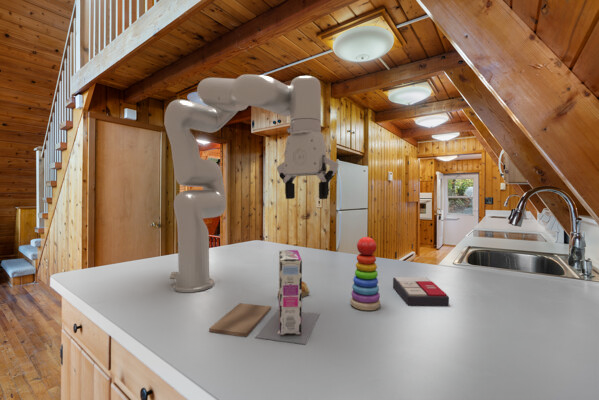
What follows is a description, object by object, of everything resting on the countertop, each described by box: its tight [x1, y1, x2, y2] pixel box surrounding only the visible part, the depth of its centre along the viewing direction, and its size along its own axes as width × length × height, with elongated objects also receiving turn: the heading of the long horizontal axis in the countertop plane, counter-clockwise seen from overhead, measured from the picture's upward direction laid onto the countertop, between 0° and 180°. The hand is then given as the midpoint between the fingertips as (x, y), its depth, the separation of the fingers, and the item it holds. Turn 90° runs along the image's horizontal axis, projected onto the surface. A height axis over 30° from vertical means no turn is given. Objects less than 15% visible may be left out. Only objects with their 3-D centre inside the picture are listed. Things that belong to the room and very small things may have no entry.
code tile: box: [254, 308, 320, 345], centre depth 68 cm, size 11×15×1 cm
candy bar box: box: [278, 249, 303, 335], centre depth 67 cm, size 11×5×16 cm, turn 5°
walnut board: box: [208, 302, 272, 338], centre depth 71 cm, size 9×15×1 cm, turn 165°
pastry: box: [277, 281, 310, 298], centre depth 87 cm, size 9×7×4 cm
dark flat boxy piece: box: [392, 276, 450, 307], centre depth 86 cm, size 11×4×15 cm
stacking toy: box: [349, 236, 381, 312], centre depth 79 cm, size 8×8×19 cm
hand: (306, 198), depth 72 cm, fingers open, 9 cm apart
